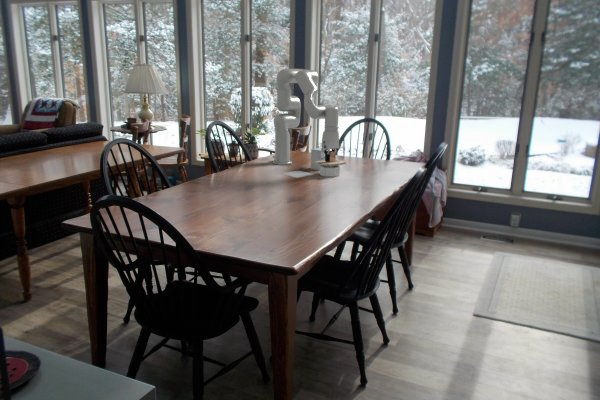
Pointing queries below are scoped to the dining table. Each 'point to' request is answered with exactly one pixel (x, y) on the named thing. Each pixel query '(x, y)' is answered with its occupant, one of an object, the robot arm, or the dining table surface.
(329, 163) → the lid
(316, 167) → the supplement box
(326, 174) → the bowl
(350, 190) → the dining table surface
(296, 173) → the mat
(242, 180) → the dining table surface
